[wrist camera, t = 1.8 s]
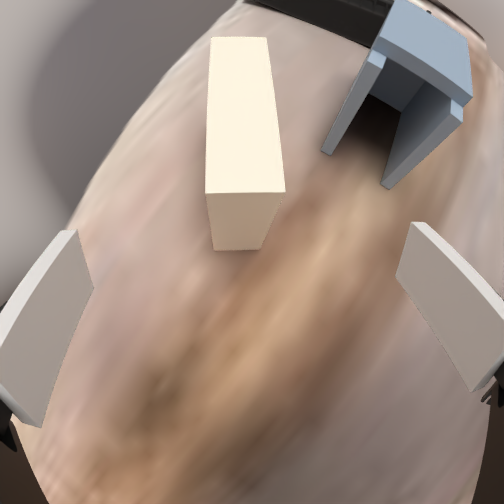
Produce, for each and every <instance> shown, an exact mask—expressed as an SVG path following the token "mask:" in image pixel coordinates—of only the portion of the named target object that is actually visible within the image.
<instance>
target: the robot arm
mask: <svg viewBox="0 0 504 504" xmlns="http://www.w3.org/2000/svg"><path fill="white" fill-rule="evenodd" d="M395 277H396V279H397V280H398V281H399V283H400V284H401V286H402V287H403V288H404V290H405V291H406V293H407V294H408V295H409V297H410V298H411V300H412V301H413V302H414V304H415V305H416V307H417V308H418V310H419V311H420V313H421V314H422V315H423V317H424V318H425V320H426V321H427V323H428V324H429V326H430V327H431V329H432V330H433V332H434V334H435V335H436V337H437V338H438V340H439V341H440V343H441V344H442V346H443V348H444V349H445V351H446V352H447V354H448V356H449V357H450V359H451V361H452V362H453V364H454V365H455V367H456V369H457V371H458V372H459V374H460V376H461V377H462V379H463V381H464V383H465V384H466V386H467V388H468V390H469V391H470V393H472V392H474V391H476V390H478V389H480V388H483V387H484V386H485V385H486V384H487V383H488V382H489V380H490V379H491V378H492V377H493V375H494V376H495V378H496V379H497V381H496V382H495V383H494V384H493V385H492V387H491V388H490V389H489V390H488V391H487V392H486V394H485V395H484V396H483V397H482V399H481V402H484V401H485V400H486V399H487V398H488V397H489V396H490V395H491V398H490V399H489V400H488V401H487V403H486V404H489V405H491V406H490V416H489V424H488V431H487V438H486V444H485V450H484V455H483V460H482V465H481V469H480V474H479V478H478V482H477V486H476V489H475V493H474V496H473V500H472V503H471V504H504V300H503V299H501V297H500V296H499V294H498V293H497V292H496V291H495V290H494V289H493V288H492V287H491V286H490V285H489V284H488V283H487V282H486V281H485V280H484V279H483V278H482V277H481V276H480V275H479V274H478V272H477V271H476V270H475V269H474V268H473V267H472V266H471V265H470V264H469V263H468V262H467V261H466V260H465V259H464V258H463V257H462V256H461V255H460V254H459V253H458V252H457V251H456V250H454V249H453V248H452V247H451V246H450V245H449V244H448V243H447V242H446V241H445V240H444V239H443V238H442V237H441V236H440V235H438V234H437V233H436V232H435V231H434V230H433V229H432V228H431V227H430V226H428V225H427V224H426V223H425V222H411V224H410V228H409V232H408V235H407V239H406V242H405V246H404V249H403V253H402V256H401V259H400V262H399V266H398V269H397V272H396V275H395ZM93 289H94V287H93V284H92V280H91V277H90V274H89V271H88V267H87V264H86V261H85V257H84V254H83V250H82V246H81V243H80V239H79V235H78V231H77V230H63V231H60V232H59V234H58V235H57V236H56V237H55V238H54V240H53V241H52V242H51V243H50V245H49V246H48V247H47V248H46V250H45V251H44V252H43V253H42V255H41V256H40V257H39V259H38V260H37V261H36V263H35V264H34V265H33V267H32V268H31V269H30V270H29V272H28V273H27V275H26V276H25V277H24V279H23V280H22V282H21V283H20V284H19V286H18V287H17V289H16V290H15V292H14V293H13V295H12V296H11V297H10V299H9V301H7V302H6V303H4V304H3V305H2V306H1V307H0V504H49V503H48V501H47V499H46V497H45V495H44V494H43V492H42V490H41V488H40V486H39V484H38V481H37V479H36V477H35V475H34V473H33V471H32V469H31V466H30V464H29V462H28V459H27V457H26V454H25V452H24V450H23V447H22V444H21V442H20V439H19V436H18V434H17V431H16V428H15V426H14V424H13V422H12V421H11V420H10V419H11V416H12V413H13V414H14V415H15V416H16V417H17V418H18V419H19V420H20V421H21V422H22V423H25V424H28V425H32V426H35V427H39V428H42V424H43V421H44V417H45V414H46V410H47V407H48V404H49V401H50V397H51V394H52V391H53V388H54V385H55V382H56V380H57V377H58V374H59V371H60V368H61V365H62V363H63V360H64V357H65V355H66V352H67V350H68V347H69V345H70V342H71V340H72V337H73V335H74V332H75V330H76V327H77V325H78V323H79V320H80V318H81V316H82V313H83V311H84V309H85V307H86V304H87V302H88V300H89V298H90V296H91V293H92V291H93Z"/></svg>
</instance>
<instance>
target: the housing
mask: <svg viewBox="0 0 504 504" xmlns="http://www.w3.org/2000/svg"><path fill="white" fill-rule="evenodd" d="M368 93H369V94H371V95H373V96H375V97H376V98H378V99H380V100H382V101H383V102H385V103H387V104H388V105H390V106H392V107H393V108H395V109H397V110H398V111H400V112H401V116H400V120H399V123H398V127H397V131H396V134H395V138H394V141H393V145H392V148H391V151H390V155H389V158H388V161H387V164H386V168H385V171H384V174H383V177H382V180H381V183H380V184H381V185H383V186H384V187H386V188H387V189H389V190H390V189H391V188H392V187H393V186H394V185H395V184H396V183H398V182H399V181H400V180H401V179H402V178H403V177H404V176H405V175H407V174H408V173H409V172H410V171H411V170H412V169H413V168H414V167H415V166H416V165H418V164H419V163H420V162H421V161H422V160H423V159H424V158H425V157H426V156H427V155H429V154H430V153H431V152H432V151H433V150H434V149H435V148H436V147H437V146H438V145H439V144H440V143H441V142H443V141H444V140H445V139H446V138H447V137H448V136H449V135H450V134H451V133H452V132H453V131H454V130H455V129H456V128H457V127H458V126H459V125H460V124H462V123H463V107H464V106H465V105H466V104H467V103H468V102H469V101H470V100H471V99H472V98H473V92H472V78H471V68H470V59H469V51H468V44H467V39H466V38H465V37H464V36H462V35H461V34H460V33H458V32H457V31H455V30H454V29H452V28H451V27H450V26H448V25H447V24H445V23H444V22H442V21H441V20H439V19H437V18H436V17H434V16H433V15H431V14H429V13H428V12H426V11H425V10H423V9H421V8H419V7H418V6H416V5H414V4H412V3H411V2H409V1H407V0H395V1H394V3H393V5H392V7H391V9H390V11H389V13H388V15H387V17H386V19H385V21H384V23H383V25H382V27H381V29H380V31H379V33H378V35H377V37H376V39H375V41H374V43H373V45H372V47H371V49H370V51H369V53H368V55H367V57H366V59H365V61H364V63H363V65H362V67H361V69H360V71H359V73H358V75H357V77H356V79H355V81H354V83H353V85H352V87H351V89H350V91H349V93H348V95H347V97H346V99H345V101H344V103H343V105H342V107H341V110H340V112H339V114H338V116H337V118H336V120H335V122H334V124H333V126H332V128H331V130H330V132H329V134H328V136H327V138H326V140H325V142H324V144H323V146H322V148H321V150H320V151H322V152H324V153H326V154H328V155H330V156H331V155H332V153H333V151H334V150H335V148H336V146H337V145H338V143H339V141H340V140H341V138H342V136H343V135H344V133H345V131H346V130H347V128H348V126H349V124H350V123H351V121H352V119H353V118H354V116H355V114H356V113H357V111H358V109H359V108H360V106H361V104H362V103H363V101H364V99H365V97H366V96H367V94H368Z"/></svg>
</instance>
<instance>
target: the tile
mask: <svg viewBox="0 0 504 504" xmlns="http://www.w3.org/2000/svg"><path fill="white" fill-rule="evenodd" d="M205 195H206V202H207V209H208V215H209V222H210V229H211V235H212V242H213V248H214V251H223V250H257V249H260V248H261V246H262V244H263V242H264V239H265V237H266V235H267V233H268V230H269V228H270V226H271V224H272V222H273V219H274V217H275V215H276V213H277V210H278V208H279V206H280V204H281V201H282V199H283V197H284V195H285V182H284V172H283V163H282V154H281V145H280V136H279V128H278V119H277V111H276V104H275V96H274V88H273V81H272V74H271V67H270V60H269V53H268V46H267V39H266V38H261V37H211V48H210V64H209V82H208V103H207V131H206V177H205Z"/></svg>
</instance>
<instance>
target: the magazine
mask: <svg viewBox="0 0 504 504" xmlns="http://www.w3.org/2000/svg"><path fill="white" fill-rule="evenodd" d="M254 1H257V2H260V3H262V4H265V5H267V6H270V7H272V8H275V9H277V10H279V11H282V12H284V13H286V14H289V15H291V16H294V17H296V18H298V19H301V20H303V21H306V22H308V23H311V24H313V25H316V26H318V27H321V28H323V29H326V30H328V31H331V32H333V33H336V34H338V35H340V36H343V37H345V38H347V39H350V40H352V41H355V42H358V43H360V44H363V45H366V46H368V47H372V45H373V43H374V41H375V39H376V37H377V35H378V33H379V31H380V29H381V27H382V25H383V23H384V21H385V19H386V17H387V15H388V13H389V11H390V9H391V7H392V5H393V3H394V0H254ZM426 12H428V13H429V14H431V12H430V11H428V10H427V11H426Z"/></svg>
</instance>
